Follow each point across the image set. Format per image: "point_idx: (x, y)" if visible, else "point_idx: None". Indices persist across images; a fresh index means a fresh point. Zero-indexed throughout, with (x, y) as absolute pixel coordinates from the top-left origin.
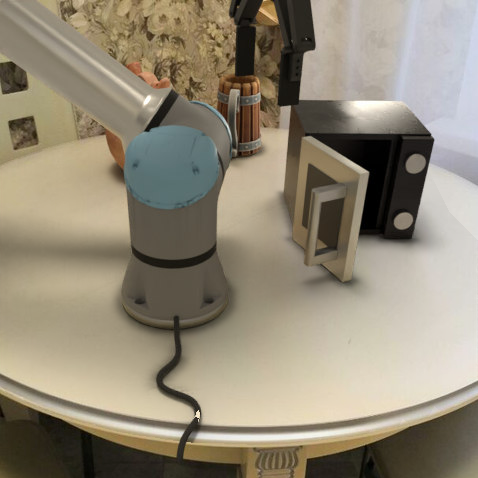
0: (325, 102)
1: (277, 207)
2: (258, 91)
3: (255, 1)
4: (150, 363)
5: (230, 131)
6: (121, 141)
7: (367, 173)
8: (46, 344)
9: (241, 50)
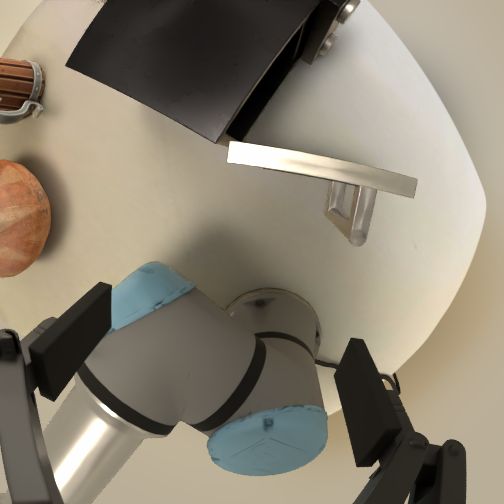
0: (109, 12)
1: (165, 123)
2: None
3: (47, 468)
4: (328, 380)
5: (21, 118)
6: (16, 274)
7: (416, 183)
8: None
9: (82, 354)
